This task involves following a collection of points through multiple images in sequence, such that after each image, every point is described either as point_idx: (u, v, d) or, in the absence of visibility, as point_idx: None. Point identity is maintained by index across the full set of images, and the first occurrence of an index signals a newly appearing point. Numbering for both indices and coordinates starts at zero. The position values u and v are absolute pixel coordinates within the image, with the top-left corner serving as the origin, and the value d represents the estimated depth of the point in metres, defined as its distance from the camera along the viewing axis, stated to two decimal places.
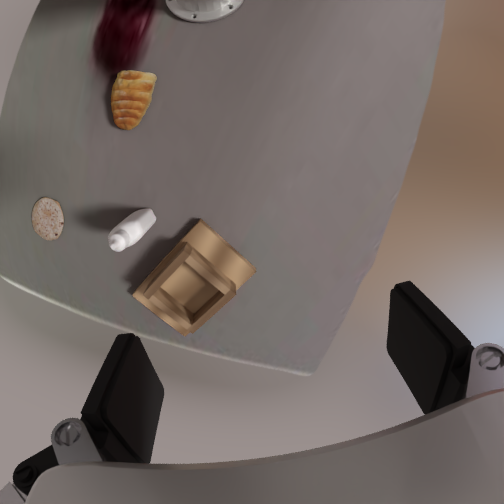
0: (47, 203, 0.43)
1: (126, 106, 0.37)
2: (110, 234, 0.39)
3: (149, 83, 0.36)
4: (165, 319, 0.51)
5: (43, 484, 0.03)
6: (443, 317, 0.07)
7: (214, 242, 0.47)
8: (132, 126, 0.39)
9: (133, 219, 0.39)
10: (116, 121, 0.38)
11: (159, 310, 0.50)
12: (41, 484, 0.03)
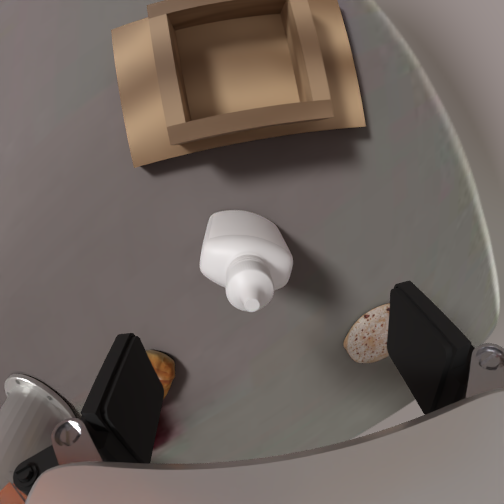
0: (358, 352, 0.30)
1: None
2: None
3: None
4: (343, 42, 0.18)
5: (43, 484, 0.03)
6: (443, 317, 0.07)
7: (135, 115, 0.20)
8: (150, 357, 0.27)
9: None
10: (168, 377, 0.28)
11: (340, 63, 0.19)
12: (41, 484, 0.03)
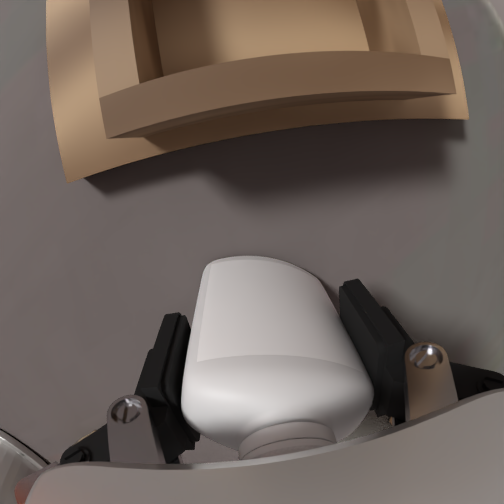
0: None
1: None
2: None
3: None
4: None
5: (43, 484, 0.03)
6: (382, 314, 0.08)
7: (68, 88, 0.09)
8: None
9: None
10: None
11: None
12: (41, 484, 0.03)
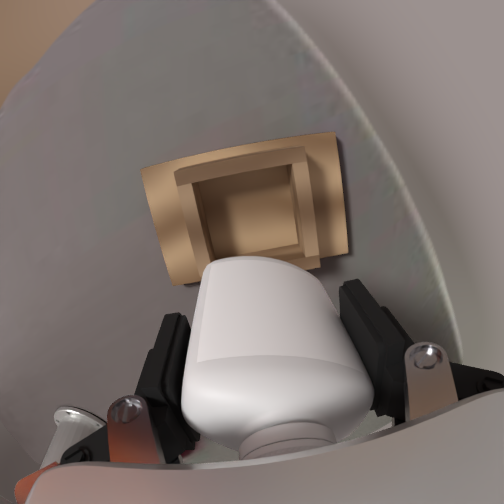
0: None
1: None
2: None
3: None
4: (337, 183, 0.27)
5: (43, 484, 0.03)
6: (382, 314, 0.08)
7: (170, 248, 0.29)
8: None
9: None
10: None
11: (332, 203, 0.28)
12: (41, 484, 0.03)
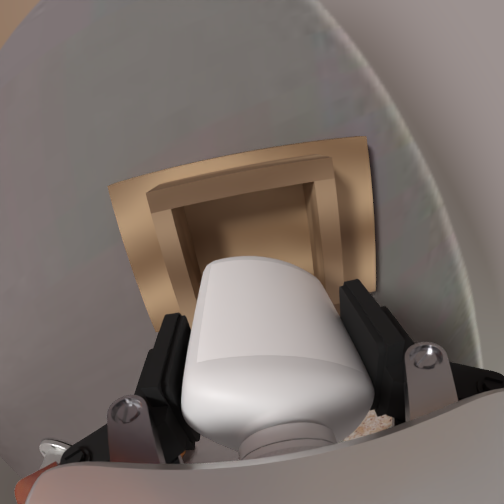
0: (349, 436, 0.32)
1: None
2: None
3: None
4: (367, 204, 0.20)
5: (43, 484, 0.03)
6: (382, 314, 0.08)
7: (150, 288, 0.22)
8: None
9: None
10: None
11: (360, 231, 0.21)
12: (41, 484, 0.03)
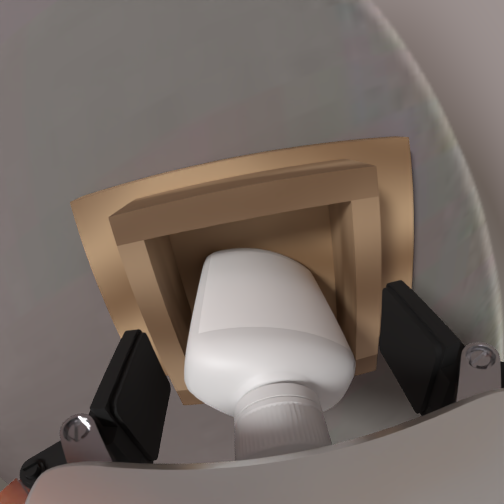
0: None
1: None
2: None
3: None
4: (407, 225, 0.15)
5: (43, 484, 0.03)
6: (433, 316, 0.07)
7: (130, 329, 0.17)
8: None
9: None
10: None
11: (396, 259, 0.16)
12: (41, 484, 0.03)
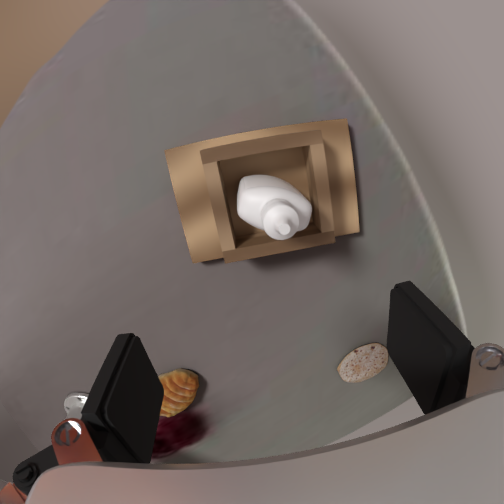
0: (347, 375, 0.40)
1: (175, 395, 0.37)
2: None
3: None
4: (349, 165, 0.29)
5: (43, 484, 0.03)
6: (443, 317, 0.07)
7: (192, 226, 0.30)
8: (180, 374, 0.38)
9: None
10: (194, 387, 0.38)
11: (345, 185, 0.29)
12: (41, 484, 0.03)
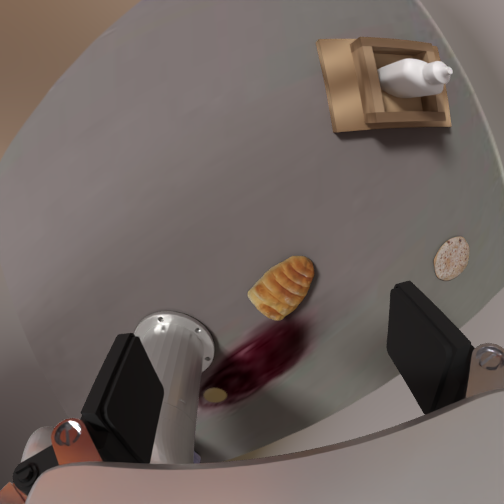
0: (440, 269, 0.42)
1: (292, 284, 0.38)
2: (438, 90, 0.24)
3: (256, 292, 0.39)
4: None
5: (43, 484, 0.03)
6: (443, 317, 0.07)
7: (339, 100, 0.32)
8: (299, 258, 0.38)
9: (405, 79, 0.25)
10: (311, 274, 0.39)
11: None
12: (41, 484, 0.03)
